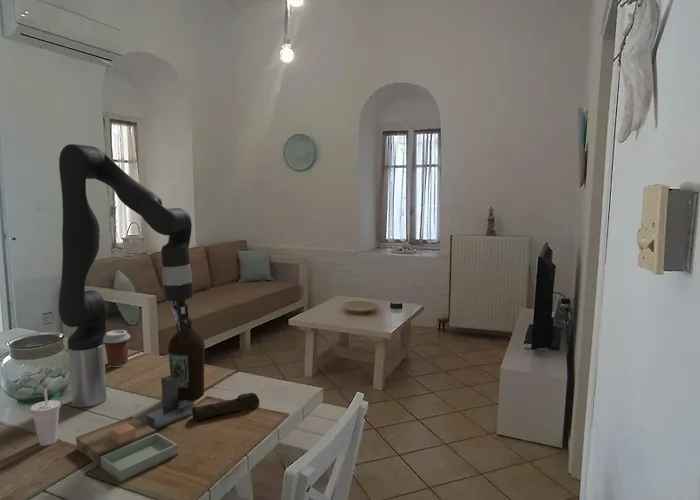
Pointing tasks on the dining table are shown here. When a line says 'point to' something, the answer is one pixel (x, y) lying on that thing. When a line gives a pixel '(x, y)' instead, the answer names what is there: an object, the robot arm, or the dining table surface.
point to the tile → (123, 433)
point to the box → (138, 456)
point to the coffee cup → (116, 347)
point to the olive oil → (188, 364)
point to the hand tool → (226, 406)
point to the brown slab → (109, 439)
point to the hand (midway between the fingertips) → (183, 339)
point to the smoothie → (46, 420)
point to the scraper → (169, 405)
